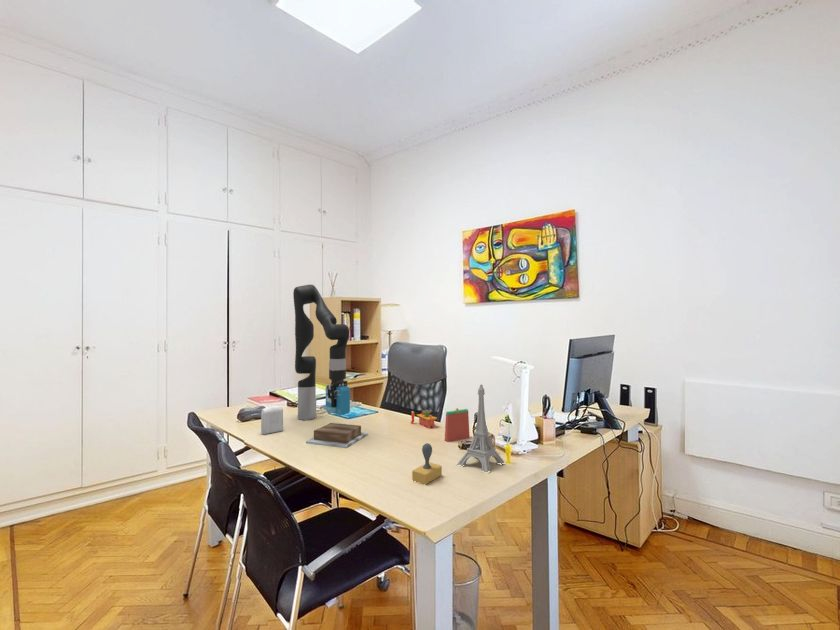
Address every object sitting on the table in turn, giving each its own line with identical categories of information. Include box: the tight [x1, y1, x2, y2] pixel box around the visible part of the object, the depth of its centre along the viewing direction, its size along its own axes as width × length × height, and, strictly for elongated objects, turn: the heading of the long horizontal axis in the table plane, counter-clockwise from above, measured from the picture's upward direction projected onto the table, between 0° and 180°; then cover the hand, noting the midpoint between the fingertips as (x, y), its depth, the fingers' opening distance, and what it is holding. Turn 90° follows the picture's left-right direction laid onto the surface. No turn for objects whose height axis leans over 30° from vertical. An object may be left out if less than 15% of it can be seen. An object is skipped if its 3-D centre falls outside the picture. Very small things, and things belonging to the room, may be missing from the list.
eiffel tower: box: [456, 384, 505, 472], centre depth 156 cm, size 13×13×30 cm
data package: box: [325, 385, 351, 416], centre depth 187 cm, size 12×4×12 cm, turn 49°
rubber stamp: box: [411, 442, 443, 485], centre depth 143 cm, size 10×6×12 cm, turn 144°
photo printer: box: [260, 405, 284, 435], centre depth 198 cm, size 10×4×12 cm, turn 134°
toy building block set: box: [410, 407, 471, 443], centre depth 201 cm, size 12×35×14 cm, turn 31°
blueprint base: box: [305, 422, 369, 449], centre depth 187 cm, size 20×20×5 cm
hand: (337, 405), depth 187 cm, fingers closed on data package, 5 cm apart
